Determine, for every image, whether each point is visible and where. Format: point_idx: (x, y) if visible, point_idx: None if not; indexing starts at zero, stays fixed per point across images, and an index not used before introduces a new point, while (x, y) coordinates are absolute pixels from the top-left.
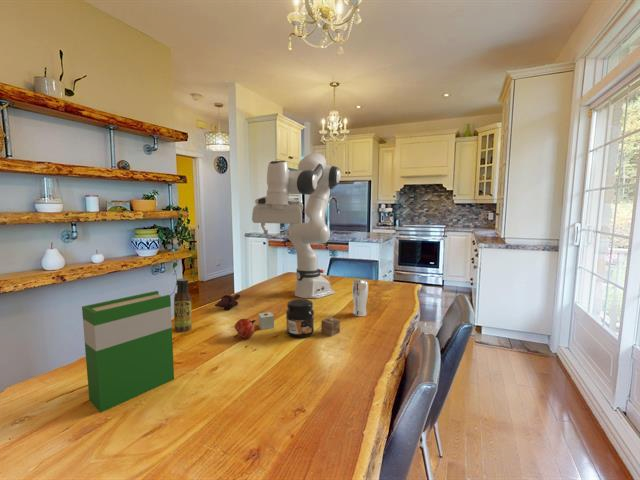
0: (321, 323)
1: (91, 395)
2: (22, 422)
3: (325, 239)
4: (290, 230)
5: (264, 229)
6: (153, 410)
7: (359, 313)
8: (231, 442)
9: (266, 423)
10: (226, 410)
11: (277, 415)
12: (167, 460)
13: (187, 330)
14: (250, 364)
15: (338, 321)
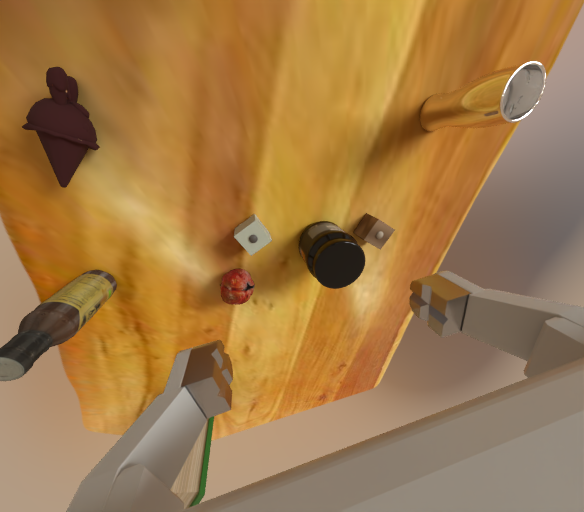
0: (361, 237)
1: None
2: None
3: None
4: (477, 328)
5: (197, 431)
6: (236, 398)
7: (434, 129)
8: (306, 396)
9: (322, 381)
10: (290, 382)
11: (328, 374)
12: (278, 413)
13: (116, 286)
14: (280, 332)
15: (391, 232)
